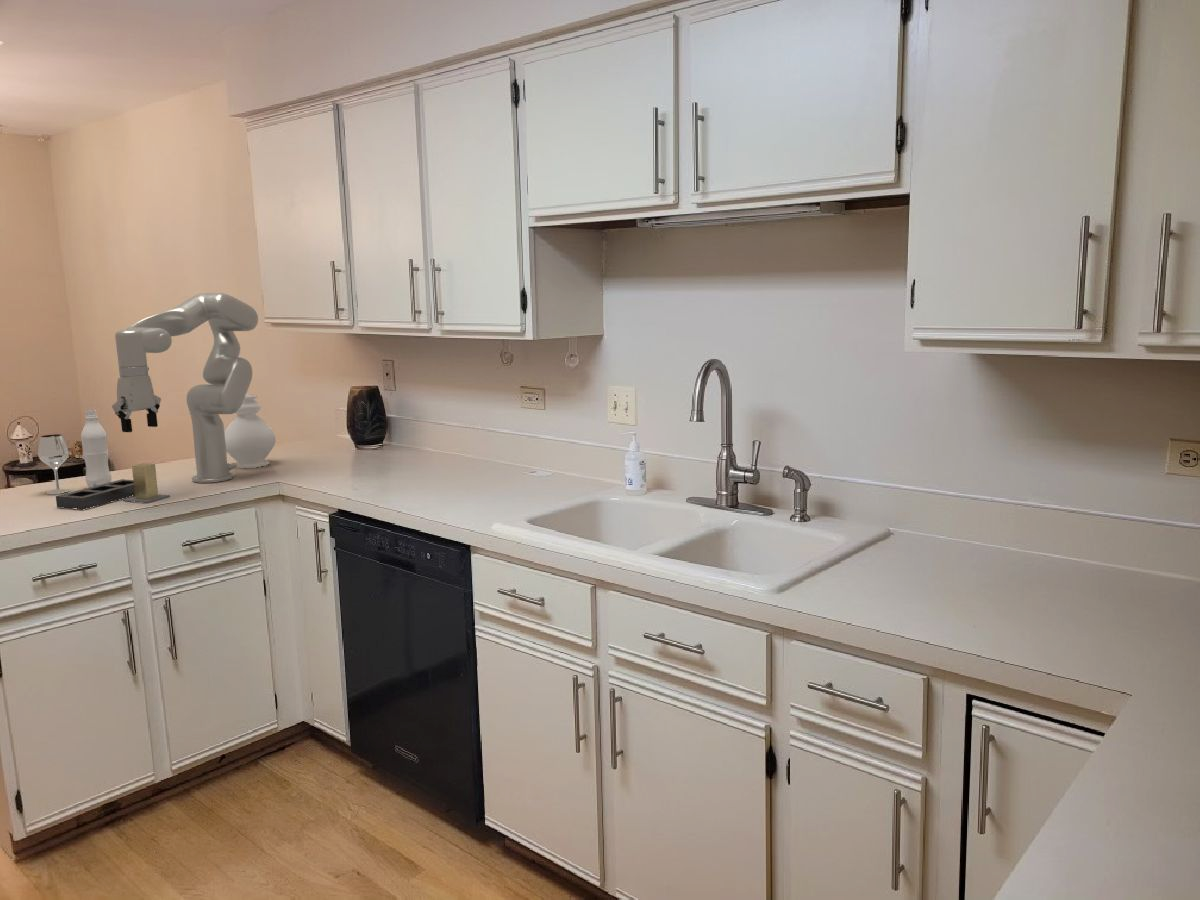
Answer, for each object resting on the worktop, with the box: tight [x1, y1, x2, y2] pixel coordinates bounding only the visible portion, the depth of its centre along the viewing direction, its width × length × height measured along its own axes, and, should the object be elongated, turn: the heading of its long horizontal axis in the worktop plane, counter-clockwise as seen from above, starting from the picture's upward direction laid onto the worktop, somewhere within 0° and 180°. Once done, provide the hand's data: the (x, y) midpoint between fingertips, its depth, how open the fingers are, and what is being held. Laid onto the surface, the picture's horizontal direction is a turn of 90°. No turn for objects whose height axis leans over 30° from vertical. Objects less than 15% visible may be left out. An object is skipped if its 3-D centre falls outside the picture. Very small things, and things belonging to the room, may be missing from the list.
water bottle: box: [80, 409, 112, 488], centre depth 283 cm, size 7×7×25 cm
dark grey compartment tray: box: [55, 479, 135, 510], centre depth 268 cm, size 24×10×4 cm, turn 163°
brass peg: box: [131, 462, 159, 499], centre depth 267 cm, size 4×4×10 cm
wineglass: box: [37, 433, 71, 495], centre depth 277 cm, size 8×8×18 cm
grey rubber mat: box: [122, 493, 171, 504], centre depth 268 cm, size 9×9×1 cm
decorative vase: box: [224, 394, 276, 469], centre depth 317 cm, size 18×18×25 cm
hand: (140, 429), depth 265 cm, fingers open, 9 cm apart
